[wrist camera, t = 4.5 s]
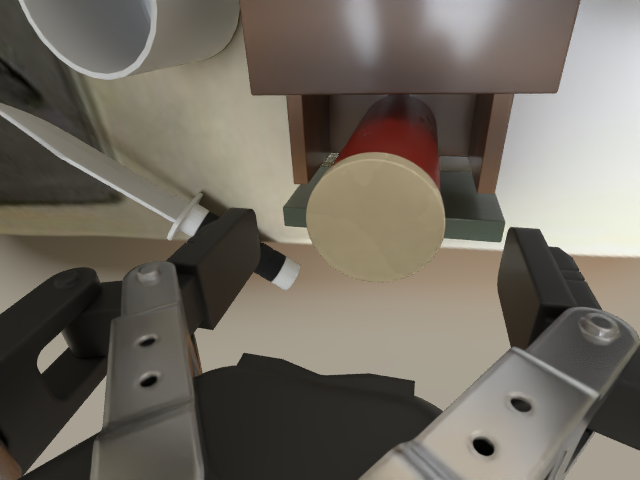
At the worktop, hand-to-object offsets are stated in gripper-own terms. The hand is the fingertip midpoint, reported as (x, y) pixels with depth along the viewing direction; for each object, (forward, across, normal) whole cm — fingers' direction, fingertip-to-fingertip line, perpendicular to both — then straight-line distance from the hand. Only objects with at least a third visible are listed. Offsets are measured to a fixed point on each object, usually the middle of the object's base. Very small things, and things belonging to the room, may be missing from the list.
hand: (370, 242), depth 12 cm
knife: (+15, +19, +4) cm, 24 cm away
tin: (+13, 0, 0) cm, 13 cm away
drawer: (+14, 0, 0) cm, 14 cm away
